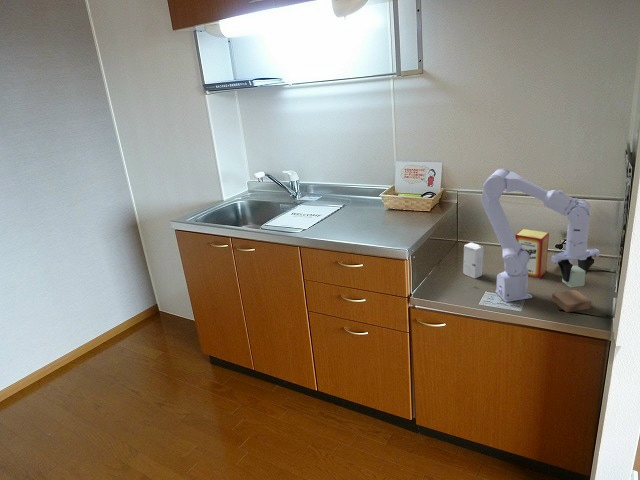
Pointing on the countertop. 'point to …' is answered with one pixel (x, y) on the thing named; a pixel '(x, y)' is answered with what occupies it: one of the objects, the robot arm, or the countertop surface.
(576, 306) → the walnut block
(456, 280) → the countertop surface
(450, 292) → the countertop surface
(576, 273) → the sage block
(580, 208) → the robot arm
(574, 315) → the countertop surface
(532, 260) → the baking soda box
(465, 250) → the skincare box
